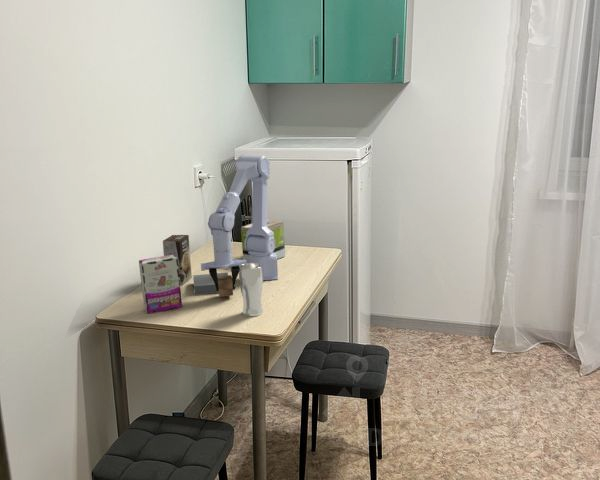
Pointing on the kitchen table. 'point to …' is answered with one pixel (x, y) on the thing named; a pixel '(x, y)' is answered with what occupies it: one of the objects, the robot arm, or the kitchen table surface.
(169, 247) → the coffee box
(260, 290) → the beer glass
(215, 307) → the kitchen table surface
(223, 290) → the walnut block
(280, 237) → the tea box
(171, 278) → the candy bar box
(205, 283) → the slate base
